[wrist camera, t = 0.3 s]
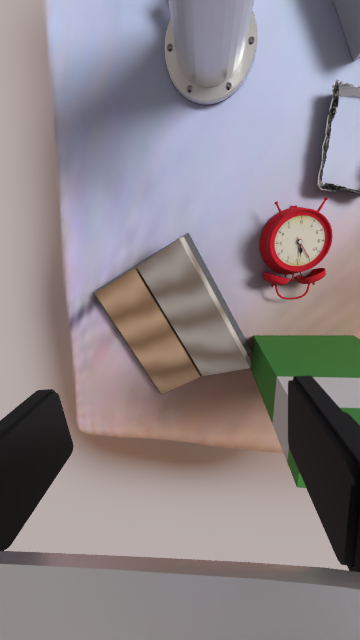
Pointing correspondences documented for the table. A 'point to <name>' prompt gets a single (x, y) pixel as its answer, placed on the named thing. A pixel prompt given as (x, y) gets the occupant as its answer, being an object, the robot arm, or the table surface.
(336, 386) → the hardback book
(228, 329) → the grey oak plank
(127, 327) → the walnut plank
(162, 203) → the table surface
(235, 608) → the robot arm
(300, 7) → the table surface
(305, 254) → the alarm clock
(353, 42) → the grey tray
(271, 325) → the table surface
